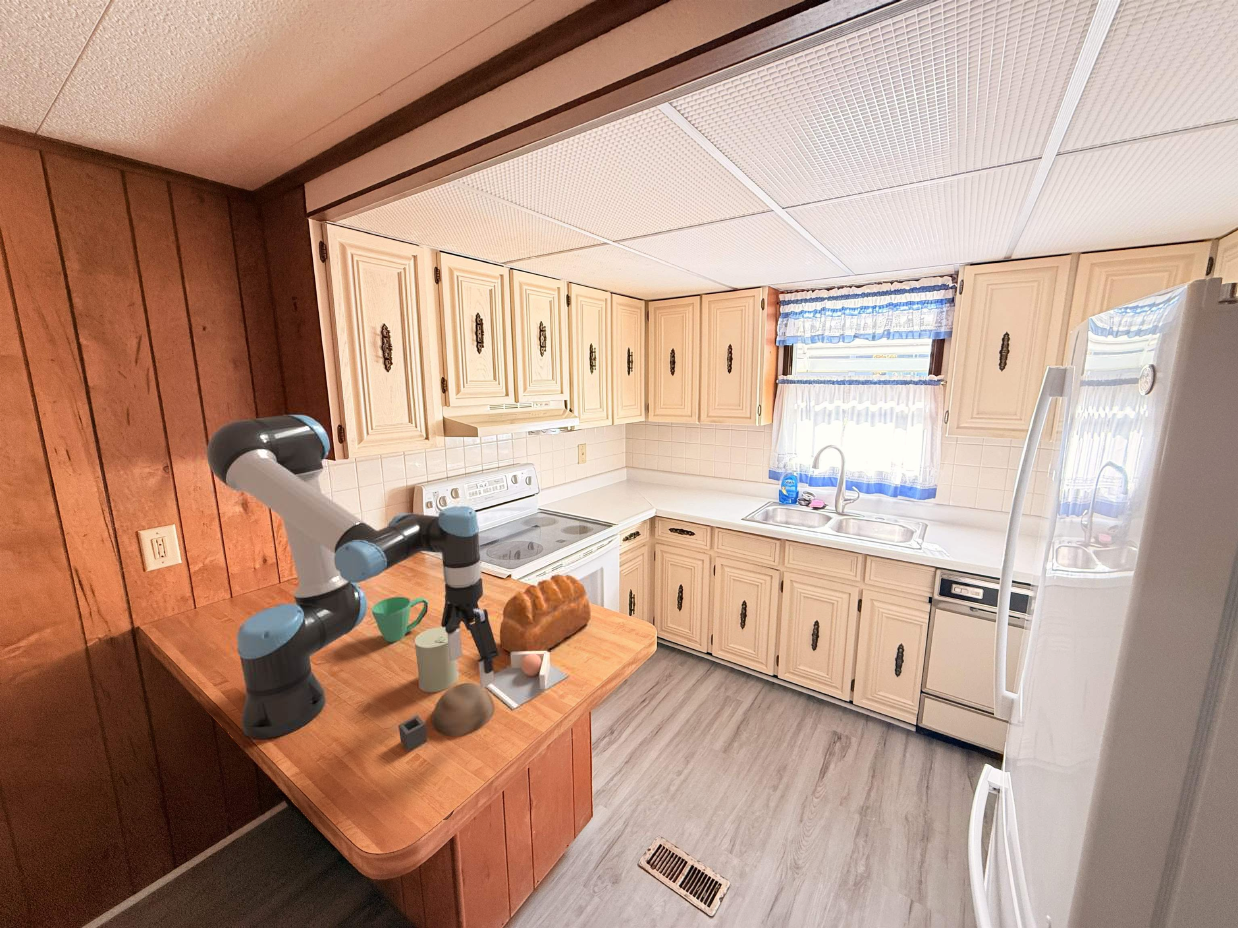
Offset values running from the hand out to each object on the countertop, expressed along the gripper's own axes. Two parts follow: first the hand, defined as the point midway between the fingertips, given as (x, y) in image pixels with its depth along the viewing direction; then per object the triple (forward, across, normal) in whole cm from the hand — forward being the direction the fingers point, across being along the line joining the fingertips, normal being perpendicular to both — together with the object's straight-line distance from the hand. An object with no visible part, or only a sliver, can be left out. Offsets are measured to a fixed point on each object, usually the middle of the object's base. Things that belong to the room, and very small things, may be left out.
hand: (471, 670), depth 105 cm
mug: (+9, +42, -2) cm, 43 cm away
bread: (+9, +12, -30) cm, 34 cm away
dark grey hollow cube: (+9, 0, +14) cm, 16 cm away
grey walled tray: (+9, 0, -14) cm, 16 cm away
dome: (+16, 0, +2) cm, 16 cm away
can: (+9, +15, +1) cm, 18 cm away
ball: (+6, 0, -16) cm, 17 cm away
